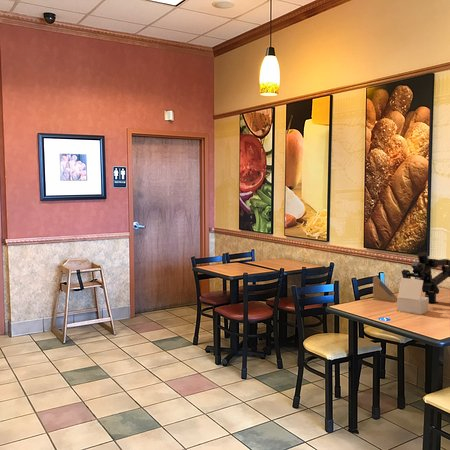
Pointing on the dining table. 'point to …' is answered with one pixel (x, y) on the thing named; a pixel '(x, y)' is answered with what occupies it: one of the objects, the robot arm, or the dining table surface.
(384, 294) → the sandwich container
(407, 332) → the dining table surface
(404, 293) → the carton flap
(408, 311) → the carton
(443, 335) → the dining table surface
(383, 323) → the dining table surface
